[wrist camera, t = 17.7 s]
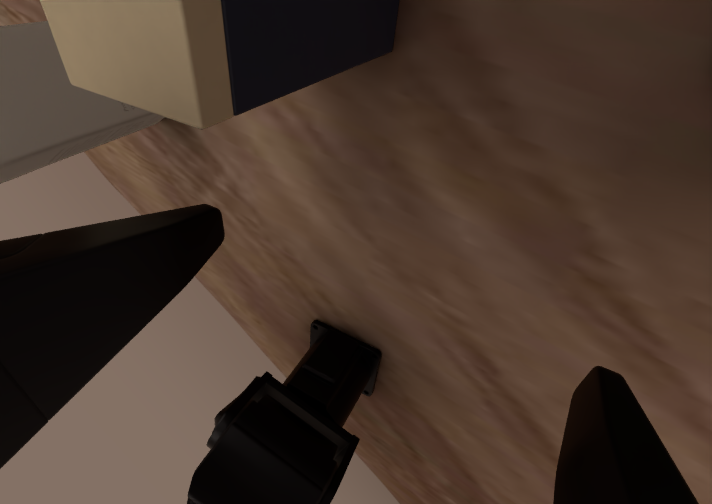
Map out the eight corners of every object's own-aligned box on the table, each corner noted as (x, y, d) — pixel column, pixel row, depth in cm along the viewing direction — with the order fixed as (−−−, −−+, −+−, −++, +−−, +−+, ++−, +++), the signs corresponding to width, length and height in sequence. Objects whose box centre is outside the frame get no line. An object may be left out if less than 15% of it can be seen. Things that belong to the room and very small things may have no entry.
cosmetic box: (108, 42, 26) (-132, 80, 18) (135, 7, 24) (-134, 31, 15) (162, 126, 29) (-29, 196, 20) (193, 103, 26) (-14, 172, 17)
